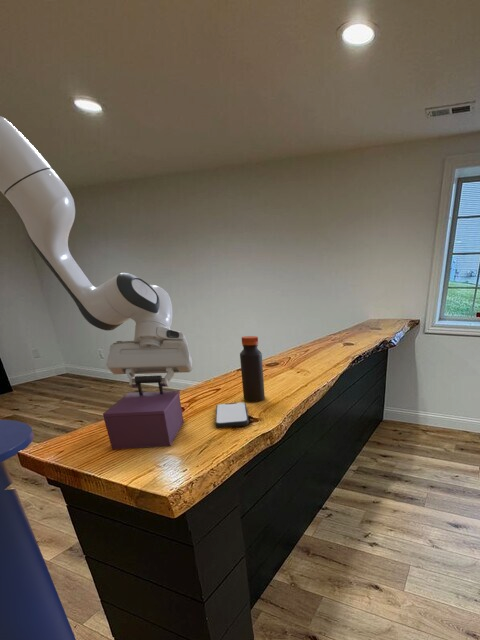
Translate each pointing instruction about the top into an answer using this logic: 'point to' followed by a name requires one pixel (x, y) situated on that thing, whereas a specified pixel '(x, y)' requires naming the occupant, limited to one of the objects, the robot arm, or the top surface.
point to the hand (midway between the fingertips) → (149, 386)
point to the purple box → (145, 428)
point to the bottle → (252, 370)
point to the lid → (143, 400)
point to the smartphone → (231, 415)
